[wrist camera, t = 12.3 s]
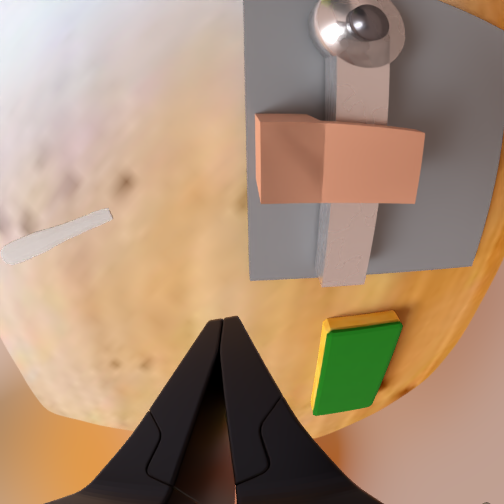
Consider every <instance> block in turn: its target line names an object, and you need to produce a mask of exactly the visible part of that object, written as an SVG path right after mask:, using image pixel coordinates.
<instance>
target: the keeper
mask: <svg viewBox="0 0 504 504" xmlns="http://www.w3.org/2000/svg"><path fill="white" fill-rule="evenodd" d="M424 140H425V133H424V132H421V131H418V130H416V129H409V128H401V127H393V126H384V125H375V124H364V123H352V122H338V121H320V120H318V119H316V118H314V117H312V116H309V115H307V114H255V155H256V182H257V187H258V192H259V197H260V202H261V204H288V203H399V204H415V201H416V195H417V189H418V183H419V177H420V170H421V164H422V156H423V148H424Z"/></svg>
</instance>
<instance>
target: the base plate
mask: <svg viewBox="0 0 504 504" xmlns="http://www.w3.org/2000/svg"><path fill="white" fill-rule="evenodd" d="M318 1H319V0H243V7H244V59H245V107H246V152H247V195H248V237H249V274H250V281H256V280H278V279H299V278H318V276H317V273H316V271H315V260H316V250H317V239H318V227H319V215H320V203H288V204H261V202H260V197H259V192H258V187H257V182H256V155H255V114H307V115H309V116H312V117H314V118H316V119H318V120H320V121H325V58H324V57H323V56H322V55H321V54H320V53H319V52H318V51H317V49H316V48H315V46H314V45H313V43H312V41H311V39H310V36H309V32H308V17H309V14H310V11H311V9H312V8H313V6H314V5H315V4H316V3H317V2H318ZM390 1H391V2H392V3H393V4H394V6H395V7H396V8H397V10H398V11H399V13H400V15H401V17H402V20H403V23H404V27H405V41H404V45H403V48H402V50H401V52H400V54H399V55H398V57H397V58H396V59H395V60H393V61H392V62H391V63H390V73H389V102H388V120H387V126H393V127H401V128H409V129H416V130H418V131H421V132H424V133H425V140H424V148H423V156H422V164H421V170H420V177H419V183H418V189H417V195H416V201H415V204H399V203H379V204H378V211H377V218H376V224H375V230H374V236H373V242H372V247H371V253H370V258H369V263H368V268H367V273H366V275H367V274H382V273H396V272H409V271H422V270H434V269H446V268H457V267H468V266H472V264H473V261H474V258H475V255H476V252H477V249H478V245H479V242H480V239H481V236H482V232H483V229H484V225H485V222H486V218H487V214H488V211H489V207H490V203H491V198H492V194H493V190H494V185H495V180H496V175H497V170H498V165H499V159H500V153H501V146H502V139H503V131H504V31H503V30H501V29H500V28H498V27H496V26H494V25H492V24H490V23H488V22H486V21H484V20H482V19H480V18H478V17H476V16H474V15H472V14H469V13H467V12H465V11H463V10H460V9H458V8H456V7H453V6H451V5H448V4H446V3H443V2H441V1H438V0H390Z"/></svg>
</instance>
